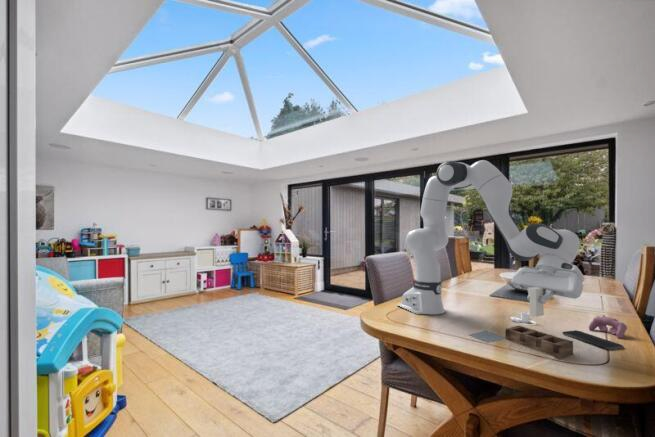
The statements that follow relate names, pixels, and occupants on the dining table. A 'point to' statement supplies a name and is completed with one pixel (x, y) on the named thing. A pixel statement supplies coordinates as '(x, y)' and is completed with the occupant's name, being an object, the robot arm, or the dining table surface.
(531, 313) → the block
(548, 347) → the rack
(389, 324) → the dining table surface
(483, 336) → the mat
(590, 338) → the phone
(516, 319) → the teacup and saucer
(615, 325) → the video game controller
